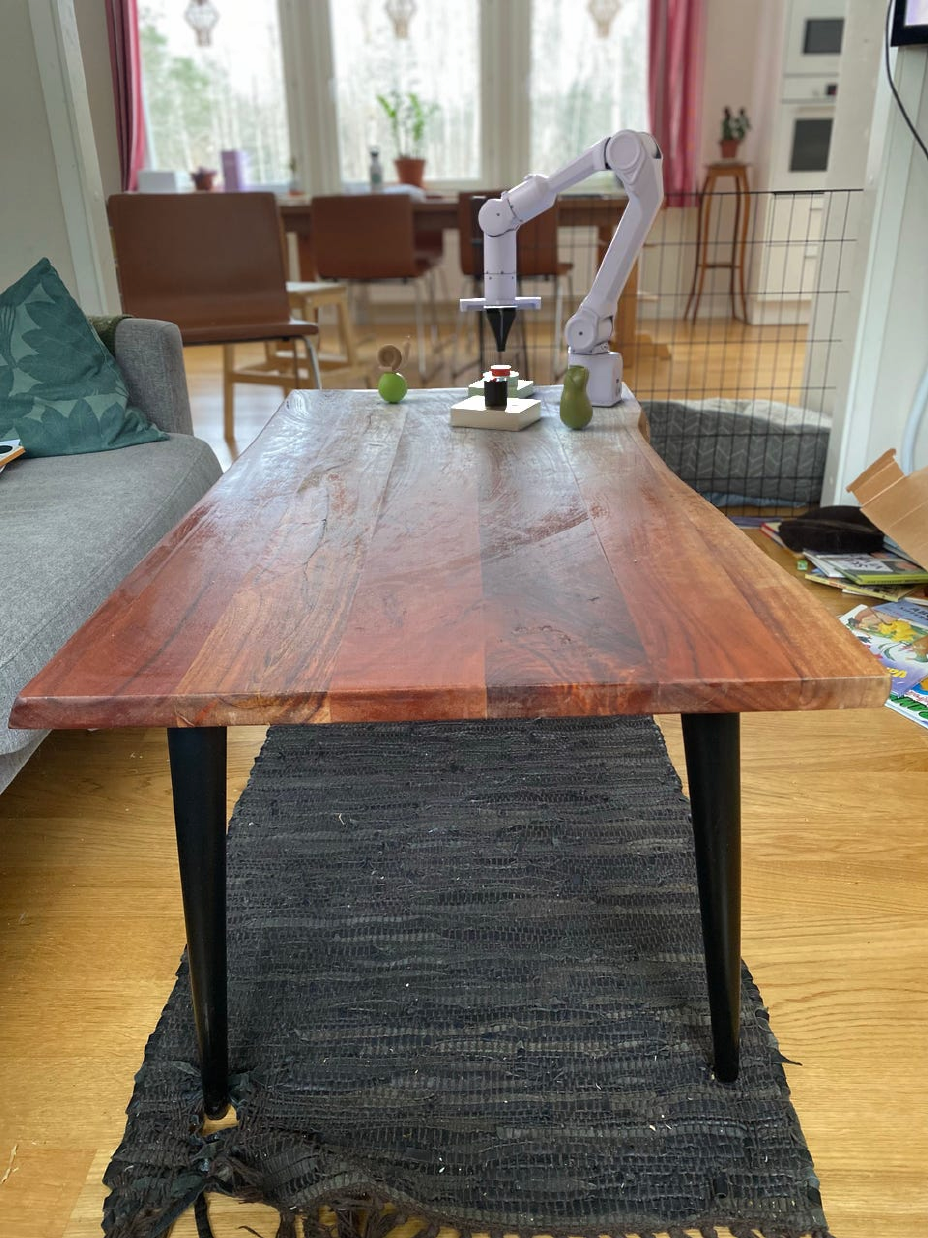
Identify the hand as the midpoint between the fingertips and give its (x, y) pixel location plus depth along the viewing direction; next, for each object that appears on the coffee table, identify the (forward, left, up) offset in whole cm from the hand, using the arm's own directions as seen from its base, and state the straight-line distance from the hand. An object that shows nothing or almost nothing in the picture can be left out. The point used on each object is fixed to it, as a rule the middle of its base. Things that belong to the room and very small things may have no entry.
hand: (500, 350), depth 173 cm
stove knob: (-8, +21, -5) cm, 23 cm away
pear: (-22, +21, -8) cm, 32 cm away
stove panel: (-8, +21, -8) cm, 24 cm away
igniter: (0, 0, -8) cm, 8 cm away
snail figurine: (+16, +12, -8) cm, 22 cm away
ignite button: (0, 0, -5) cm, 5 cm away
